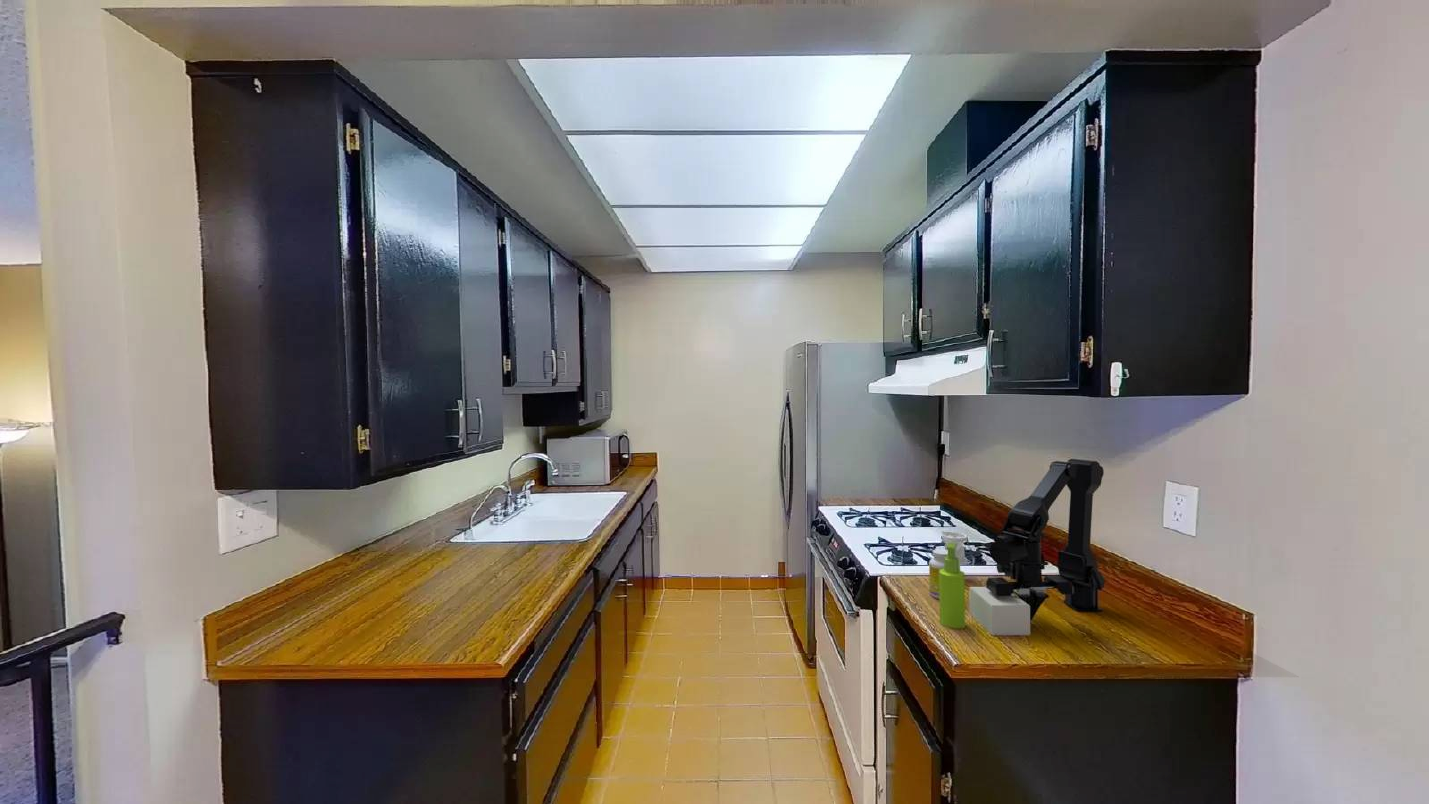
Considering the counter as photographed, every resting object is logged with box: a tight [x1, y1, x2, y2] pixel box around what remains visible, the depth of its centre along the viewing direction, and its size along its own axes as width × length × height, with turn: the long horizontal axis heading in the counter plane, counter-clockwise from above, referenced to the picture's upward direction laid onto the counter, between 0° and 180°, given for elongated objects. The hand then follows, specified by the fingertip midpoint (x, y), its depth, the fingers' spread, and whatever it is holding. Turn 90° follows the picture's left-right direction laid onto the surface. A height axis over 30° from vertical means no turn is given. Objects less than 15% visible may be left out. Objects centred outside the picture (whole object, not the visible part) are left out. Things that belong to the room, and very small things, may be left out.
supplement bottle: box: [928, 548, 948, 600], centre depth 149 cm, size 7×7×13 cm
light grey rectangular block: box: [968, 586, 1031, 636], centre depth 131 cm, size 9×12×7 cm
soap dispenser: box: [938, 542, 966, 629], centre depth 132 cm, size 6×7×20 cm
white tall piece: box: [941, 529, 968, 571], centre depth 162 cm, size 7×7×15 cm
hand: (1029, 619), depth 131 cm, fingers closed
